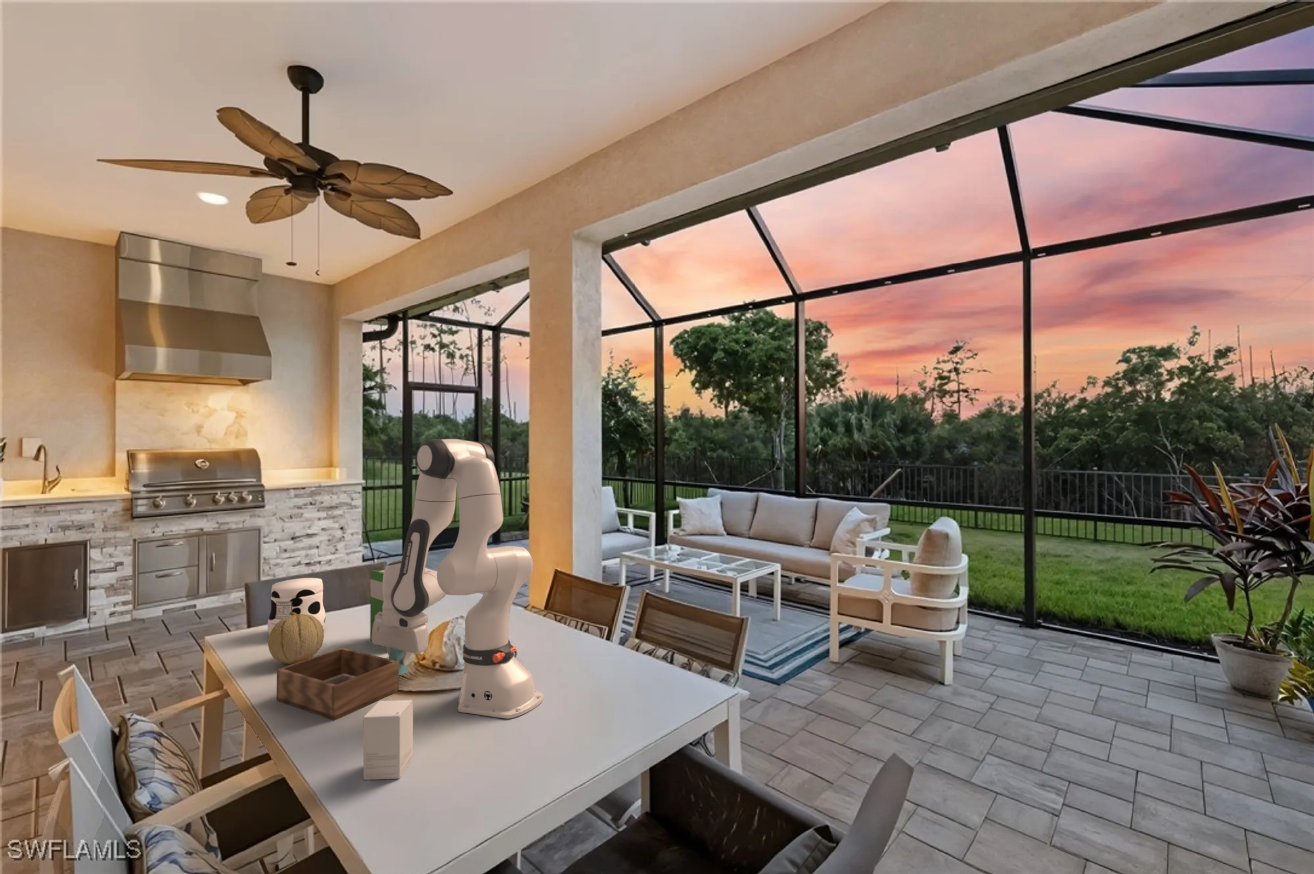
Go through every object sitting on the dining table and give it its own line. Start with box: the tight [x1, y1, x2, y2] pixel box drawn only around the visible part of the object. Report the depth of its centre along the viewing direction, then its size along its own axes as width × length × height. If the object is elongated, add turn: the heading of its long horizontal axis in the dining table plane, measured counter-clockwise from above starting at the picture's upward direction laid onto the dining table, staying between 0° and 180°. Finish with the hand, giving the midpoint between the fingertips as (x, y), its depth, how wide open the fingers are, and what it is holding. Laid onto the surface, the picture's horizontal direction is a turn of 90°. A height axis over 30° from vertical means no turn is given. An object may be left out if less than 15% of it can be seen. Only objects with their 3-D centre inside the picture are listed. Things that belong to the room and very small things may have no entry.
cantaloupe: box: [267, 612, 325, 665], centre depth 173 cm, size 15×15×15 cm
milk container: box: [267, 577, 327, 634], centre depth 199 cm, size 17×17×18 cm
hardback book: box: [369, 569, 386, 648], centre depth 190 cm, size 18×7×24 cm, turn 52°
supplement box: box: [362, 699, 414, 781], centre depth 115 cm, size 7×7×13 cm
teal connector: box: [388, 647, 409, 676], centre depth 164 cm, size 3×4×8 cm
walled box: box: [276, 647, 400, 721], centre depth 149 cm, size 24×18×8 cm
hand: (399, 663), depth 164 cm, fingers open, 3 cm apart
